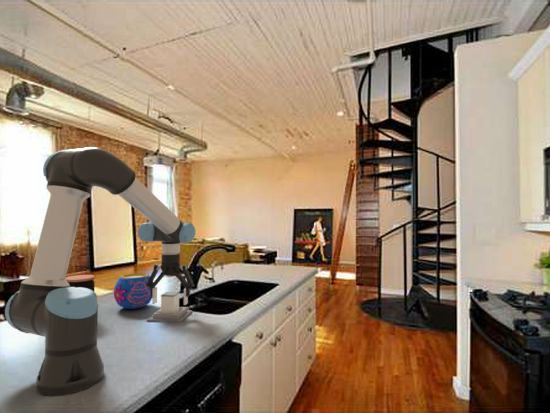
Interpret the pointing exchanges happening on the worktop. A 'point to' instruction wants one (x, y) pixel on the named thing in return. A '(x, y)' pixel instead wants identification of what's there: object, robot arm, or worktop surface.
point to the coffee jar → (81, 281)
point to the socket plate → (170, 316)
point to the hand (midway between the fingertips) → (170, 303)
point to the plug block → (170, 302)
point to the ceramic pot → (132, 291)
